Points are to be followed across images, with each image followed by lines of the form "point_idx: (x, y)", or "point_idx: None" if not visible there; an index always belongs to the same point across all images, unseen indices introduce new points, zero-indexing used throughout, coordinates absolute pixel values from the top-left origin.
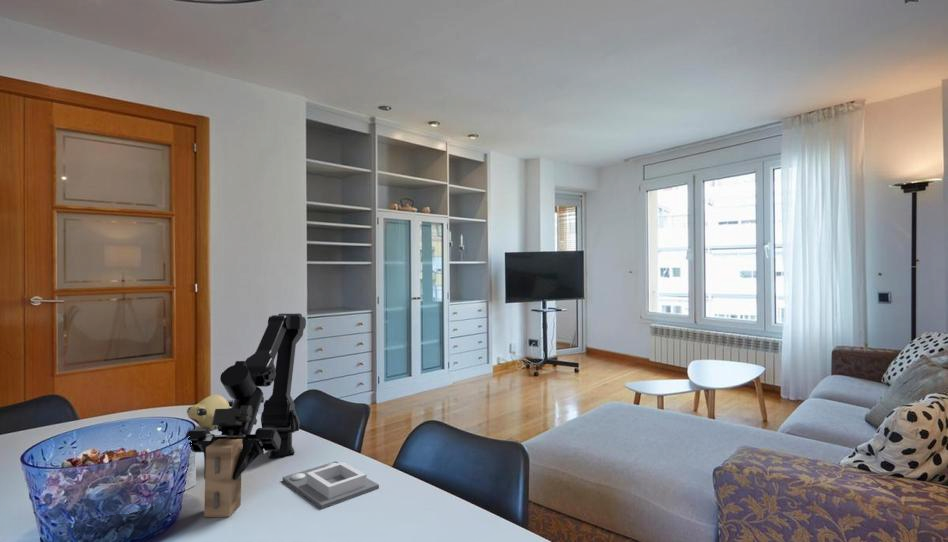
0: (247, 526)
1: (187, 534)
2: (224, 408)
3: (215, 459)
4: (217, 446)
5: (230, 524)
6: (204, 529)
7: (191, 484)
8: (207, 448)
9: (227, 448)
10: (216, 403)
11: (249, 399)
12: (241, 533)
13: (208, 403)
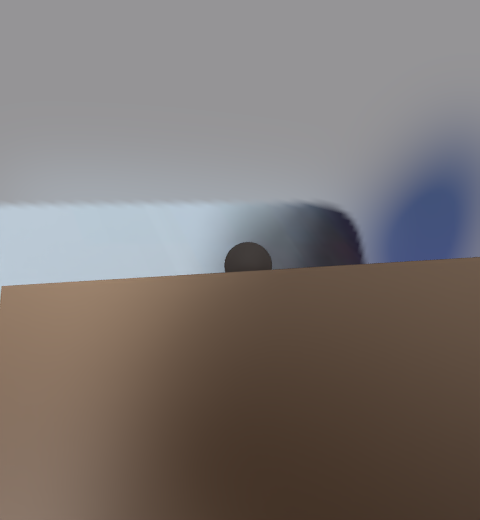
0: (116, 250)
1: (281, 202)
2: None
3: (257, 246)
4: (304, 324)
5: (177, 261)
6: (245, 231)
7: None
8: (461, 263)
9: (86, 287)
10: None
11: None
12: (117, 209)
13: None
